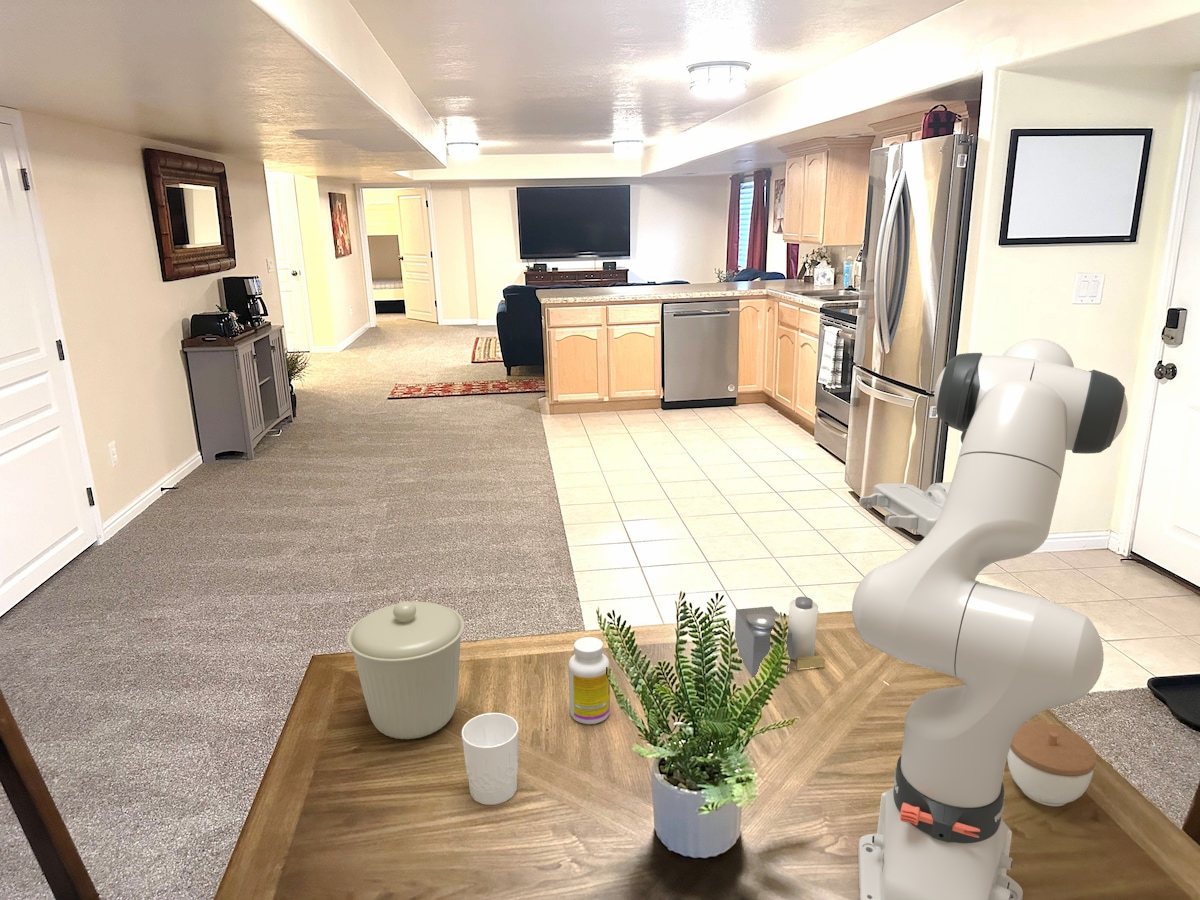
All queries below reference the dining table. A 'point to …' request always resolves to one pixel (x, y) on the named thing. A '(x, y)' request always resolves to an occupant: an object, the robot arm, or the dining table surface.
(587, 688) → the supplement bottle
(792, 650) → the white bottle
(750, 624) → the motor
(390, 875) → the dining table surface
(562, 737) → the dining table surface
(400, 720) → the canister
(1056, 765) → the lidded jar
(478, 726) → the white cup
